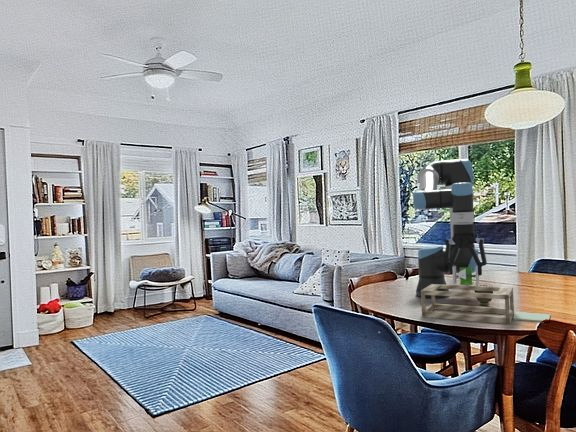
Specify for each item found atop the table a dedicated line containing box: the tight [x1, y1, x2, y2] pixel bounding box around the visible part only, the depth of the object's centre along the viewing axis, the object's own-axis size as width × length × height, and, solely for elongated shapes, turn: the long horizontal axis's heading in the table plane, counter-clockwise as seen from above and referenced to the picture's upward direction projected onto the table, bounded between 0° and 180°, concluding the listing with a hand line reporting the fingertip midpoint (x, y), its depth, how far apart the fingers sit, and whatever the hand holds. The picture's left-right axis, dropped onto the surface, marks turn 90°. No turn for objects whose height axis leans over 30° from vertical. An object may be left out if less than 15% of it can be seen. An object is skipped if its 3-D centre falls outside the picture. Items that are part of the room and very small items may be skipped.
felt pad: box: [512, 311, 551, 323], centre depth 156 cm, size 11×11×1 cm
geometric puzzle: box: [456, 267, 476, 286], centre depth 165 cm, size 7×7×8 cm
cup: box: [473, 284, 494, 307], centre depth 179 cm, size 8×7×8 cm
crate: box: [420, 284, 515, 325], centre depth 164 cm, size 30×16×10 cm, turn 58°
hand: (466, 283), depth 165 cm, fingers closed on geometric puzzle, 7 cm apart
